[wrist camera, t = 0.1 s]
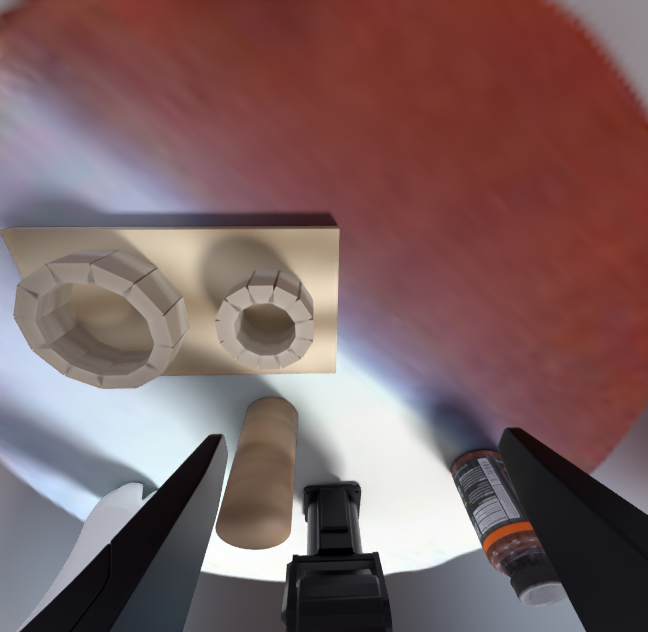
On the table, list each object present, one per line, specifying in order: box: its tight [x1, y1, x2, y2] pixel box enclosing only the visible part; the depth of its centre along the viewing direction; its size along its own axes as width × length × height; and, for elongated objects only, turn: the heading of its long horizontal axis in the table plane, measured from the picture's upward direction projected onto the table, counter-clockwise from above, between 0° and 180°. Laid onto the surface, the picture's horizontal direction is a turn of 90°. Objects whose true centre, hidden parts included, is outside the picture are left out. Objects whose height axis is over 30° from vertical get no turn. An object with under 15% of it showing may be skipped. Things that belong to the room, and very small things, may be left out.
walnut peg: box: [216, 397, 298, 550], centre depth 24 cm, size 5×5×10 cm
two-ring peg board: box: [0, 226, 339, 389], centre depth 21 cm, size 12×22×4 cm, turn 90°
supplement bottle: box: [452, 450, 568, 606], centre depth 28 cm, size 6×6×11 cm
